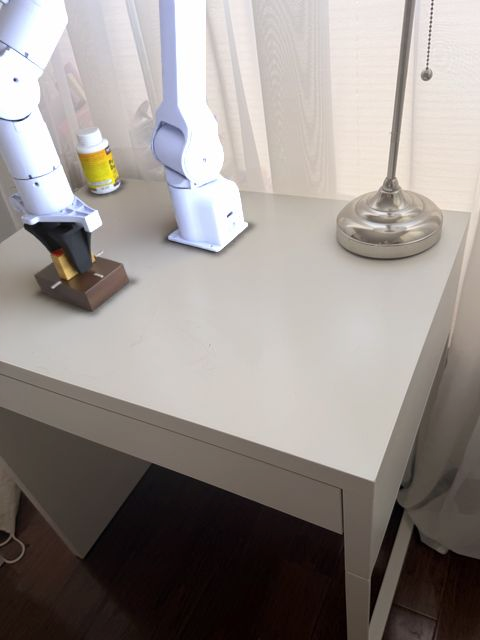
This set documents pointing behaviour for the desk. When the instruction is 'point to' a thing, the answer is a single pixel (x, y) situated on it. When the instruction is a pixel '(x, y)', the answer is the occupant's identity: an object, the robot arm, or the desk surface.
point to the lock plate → (85, 283)
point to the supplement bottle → (97, 161)
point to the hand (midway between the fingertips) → (77, 266)
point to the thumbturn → (64, 264)
